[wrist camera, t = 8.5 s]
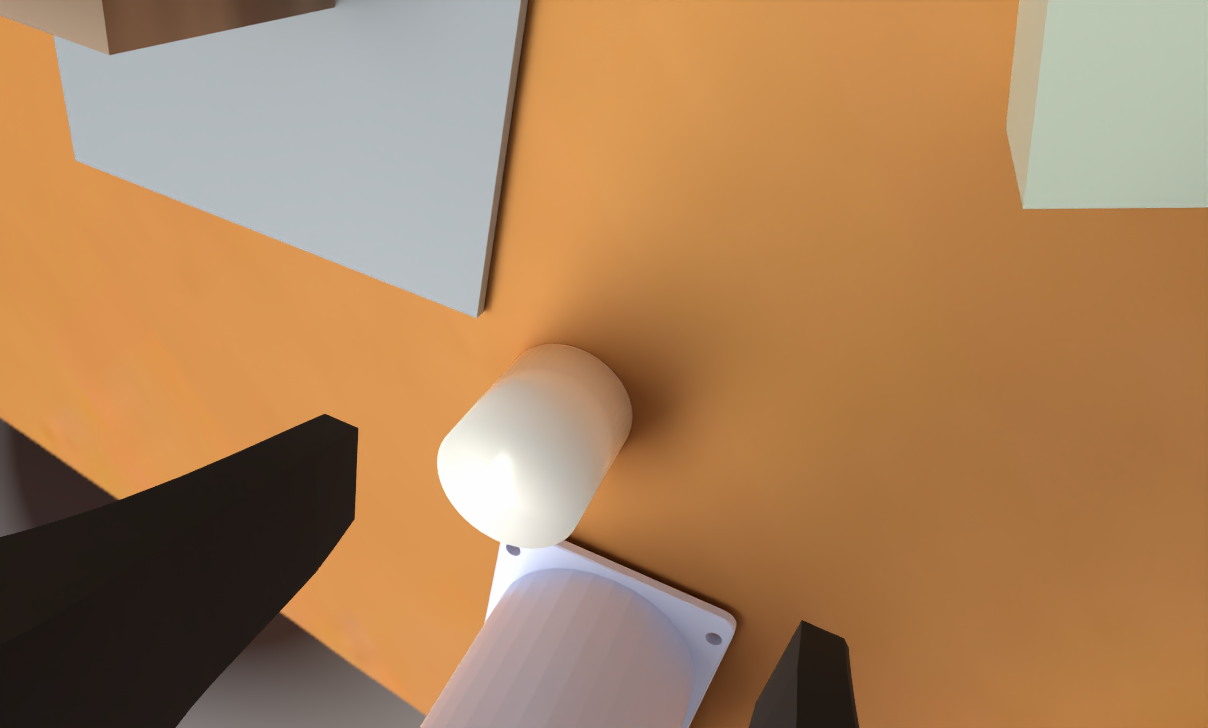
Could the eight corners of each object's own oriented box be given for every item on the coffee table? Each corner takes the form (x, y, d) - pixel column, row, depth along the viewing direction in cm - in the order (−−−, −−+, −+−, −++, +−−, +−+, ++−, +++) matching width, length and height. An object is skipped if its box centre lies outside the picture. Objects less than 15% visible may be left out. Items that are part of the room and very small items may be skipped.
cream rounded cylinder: (616, 479, 24) (565, 571, 21) (497, 429, 25) (431, 510, 22) (647, 374, 22) (595, 459, 19) (516, 323, 23) (444, 396, 20)
